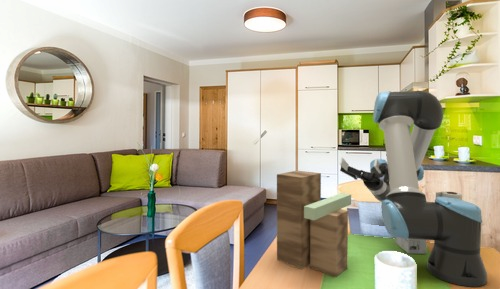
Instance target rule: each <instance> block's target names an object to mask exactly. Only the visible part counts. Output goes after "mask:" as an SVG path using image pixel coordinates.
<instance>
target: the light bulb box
mask: <svg viewBox="0 0 500 289" xmlns="http://www.w3.org/2000/svg"><path fill="white" fill-rule="evenodd" d="M394 243H395V244H396V245H397V246H399V247H400V248H401V249H403V251H404V252H406V253H407V254H416V255H417V254H419V255H420V254H425V255H426V254H427V240H424V239H411V238H408V239H404V238H398V237H394Z"/></svg>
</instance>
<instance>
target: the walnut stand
mask: <svg viewBox="0 0 500 289" xmlns="http://www.w3.org/2000/svg"><path fill="white" fill-rule="evenodd" d="M321 185H322V173H321V172H313V171H305V170H304V171H303V170H292V171H288V172H287V171H286V172H283V173H277V174H276V260H277V261H279V262H281V263H284V264H286V265H289V266H292V267H294V268H297V269H300V270H302V269H305V268H306V267H307V266H309V265H310V267H309V268H310V269H313V270H315V271H318V272H321V273H324V274H327V275H329V276H330V277H334V278H337V277H338V276H339V275H341V274H342V273H343V272H344V271H345V270H347V269H348V251H349V250H348V248H349V247H348V243H349V242H348V238H349V237H348V236H349V210H346V209H343V208H342V209H339V210H337V211H335V212H332V213H330V214H328V215H326V216H323V217H321V218H319V219H316V220H311V219H307V218H304V206H306V205H309V204H312V203H315V202H318V201H321V198H322V196H321V195H322V193H321V192H322V190H321V189H322V187H321Z"/></svg>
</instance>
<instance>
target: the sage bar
mask: <svg viewBox="0 0 500 289" xmlns="http://www.w3.org/2000/svg"><path fill="white" fill-rule="evenodd" d="M350 205H351V206H352V194H350V193H345V192H341V193H338V194H335V195H332V196H330V197H327V198H324V199H322V200H321V201H318V202H315V203H312V204H309V205H306V206H304V218H307V219H311V220H316V219H319V218H321V217H323V216H326V215H328V214H330V213H332V212H335V211H337V210H339V209H342V210H343V208H346V207H348V206H350Z"/></svg>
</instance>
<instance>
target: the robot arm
mask: <svg viewBox="0 0 500 289" xmlns="http://www.w3.org/2000/svg"><path fill="white" fill-rule="evenodd" d="M372 113H373V116H372V120H373V123H376V124H378V127H379V128H378V129H380V130H381V131H383V136H384V146H385V152H386V159H383V158H375V159H373V160H371V161H370V163H369V164H370V166H369V168H370V170H369V171H365V170H362V169H357V168H355V167H353V166H349V162H347V161H346V160H345V159H344V157H340V159H339V165H340V172H342V173H343V174H345V175H347V176H349V177H351V178H353V179H354V180H355V181H357V180H358V179H360V180H362V181H363V185H364V186H365V187H366V189H368V190H369V192H371V194H372V196H373V197H374V198H375V199H376V200H377V201H379V202H381V207H380V208H381V216H382V217H381V218H382V221H383V225H384V227H385V230H386V232H387V233H388V234H389V235H390V236H391V237H393V238H395V237H398V238H404V239H408V238H411V239H424V240H426V241H433V242H434V243H433V248H432V250H431V252H430V254H429V255H428V259H427V262H426V263H427V264H426V269H427V271H428V272H429V273H430V274H431V275H433V276H434V277H436V278H438V279H439V280H442V281H445V282H447V283H450V284H453V285H458V286H461V287H463V286H464V287H469V288H470V287H471V288H472V287H475V288H476V287H477V288H478V287H482V286H485V285H486V284H487V283H488V274H487V270H486V266H485V265H484V262H483V259H482V256H481V255H482V254H481V245H482V243H481V242H482V223H483V219H482V217H483V216H482V209H481V208H480V207H479V206H478V205H476V204H474V203H472V202H469V201H466V200H463V199H462V200H459V199H454V198H448V197H436V196H435V199H434V201H427V197H426V196H427V195H426V193H424V192H423V191H421V190H420V188H419V182H420V181H422V180H423V179H424V176H425V175H424V174H425V170H424V167H423V165H422V164H423V161H424V159H425V157H426V154H427V152H428V149H429V146H430V144H431V141H432V139H433V136H434V133H435V131H436V130H438V129H440V127H441V124H442V123H443V120H444V109H443V105H442V104H441V102H440V100H439V99H438V98H437V97H436V96H435V95H434V94H433V93H431V92H428V91H426V90H425V91H424V90H410V91H409V90H408V91H407V90H406V91H390V90H389V91H382V92H379V93H378V94H377V95H376V98H375V101H374V106H373V112H372ZM411 127H412V130H411Z"/></svg>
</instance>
